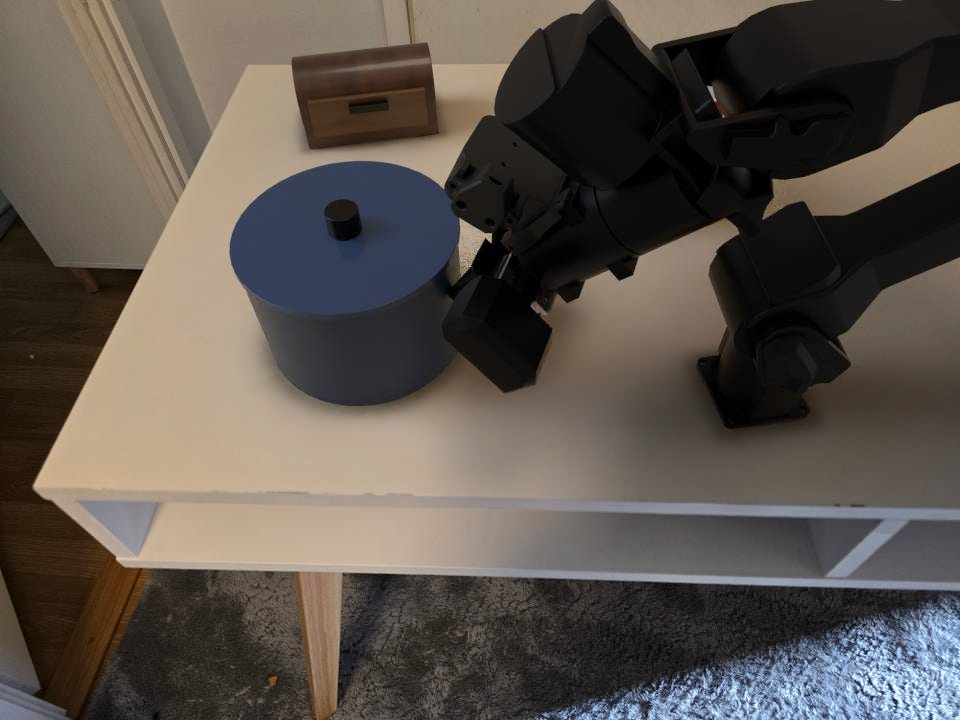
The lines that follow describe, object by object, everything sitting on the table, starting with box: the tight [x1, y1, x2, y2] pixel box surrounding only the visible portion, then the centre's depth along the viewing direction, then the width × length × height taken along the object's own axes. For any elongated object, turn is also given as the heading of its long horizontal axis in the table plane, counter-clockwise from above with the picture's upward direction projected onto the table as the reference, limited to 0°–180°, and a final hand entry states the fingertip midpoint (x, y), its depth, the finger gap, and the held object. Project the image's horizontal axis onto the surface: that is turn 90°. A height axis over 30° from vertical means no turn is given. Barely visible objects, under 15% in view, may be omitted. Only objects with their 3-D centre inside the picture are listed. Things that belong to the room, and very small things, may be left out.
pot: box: [228, 160, 462, 406], centre depth 52 cm, size 16×16×12 cm
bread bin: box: [291, 41, 440, 150], centre depth 72 cm, size 8×14×8 cm, turn 100°
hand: (454, 296), depth 49 cm, fingers closed, pressing on pot
